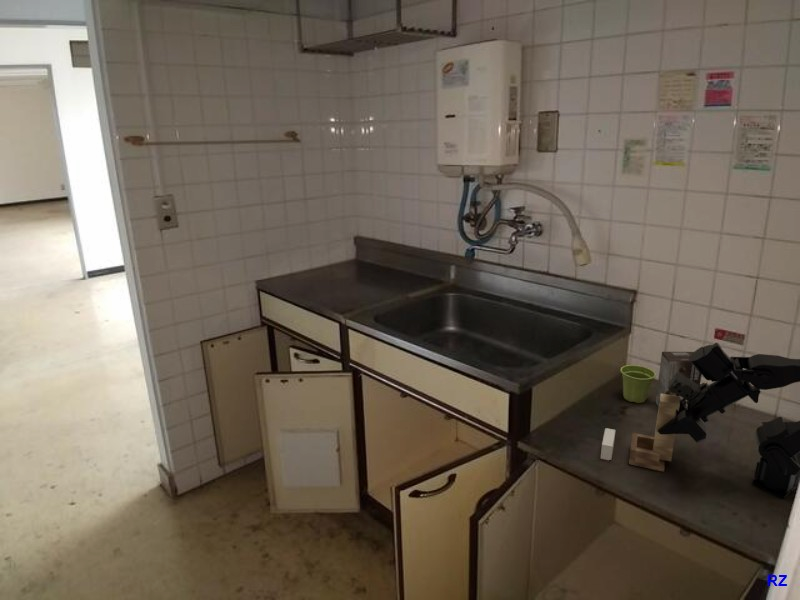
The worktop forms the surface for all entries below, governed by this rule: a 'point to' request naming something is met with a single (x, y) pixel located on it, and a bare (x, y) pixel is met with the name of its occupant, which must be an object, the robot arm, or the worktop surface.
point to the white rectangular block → (607, 444)
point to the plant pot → (636, 382)
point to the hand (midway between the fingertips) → (659, 427)
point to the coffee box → (675, 371)
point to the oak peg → (665, 414)
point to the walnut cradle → (645, 453)
